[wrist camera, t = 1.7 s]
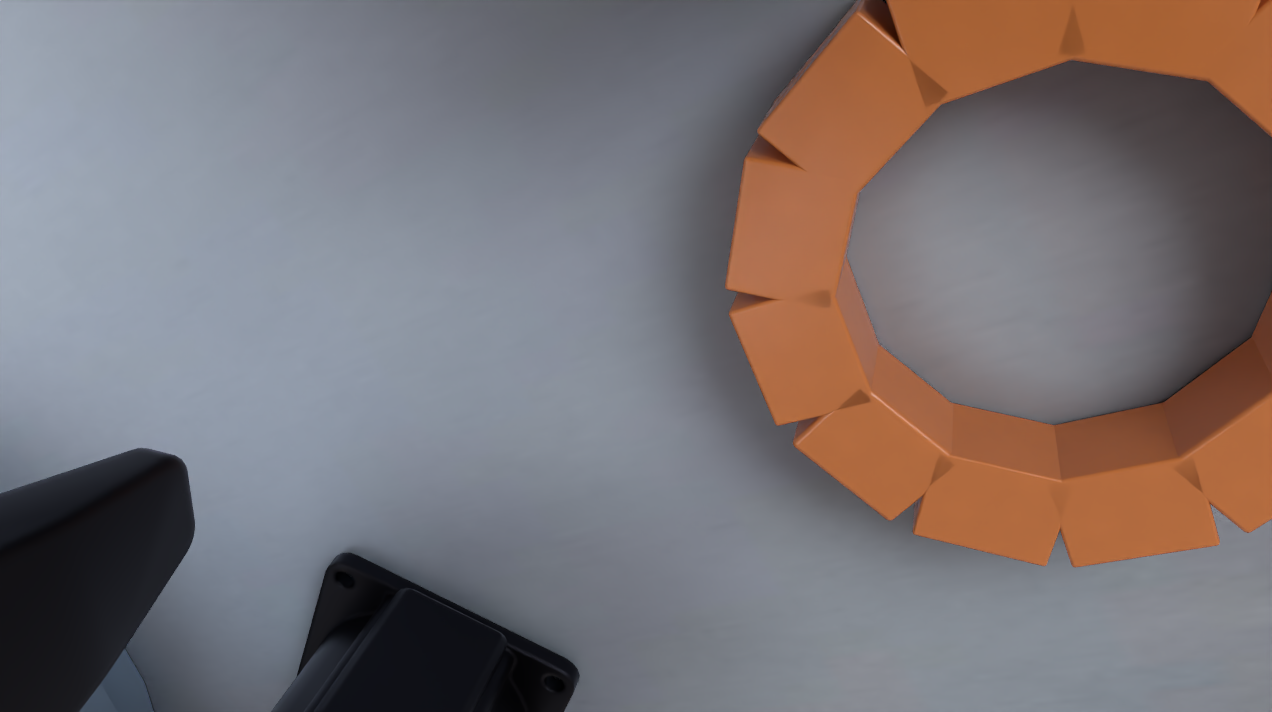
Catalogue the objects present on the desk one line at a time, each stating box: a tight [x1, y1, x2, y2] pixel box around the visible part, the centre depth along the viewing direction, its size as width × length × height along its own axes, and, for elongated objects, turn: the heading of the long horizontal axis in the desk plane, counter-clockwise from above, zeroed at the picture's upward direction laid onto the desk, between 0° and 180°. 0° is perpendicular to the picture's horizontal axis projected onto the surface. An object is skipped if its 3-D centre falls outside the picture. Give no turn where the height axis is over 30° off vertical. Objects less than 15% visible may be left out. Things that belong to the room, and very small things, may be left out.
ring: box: [725, 0, 1272, 567], centre depth 17 cm, size 10×10×2 cm
